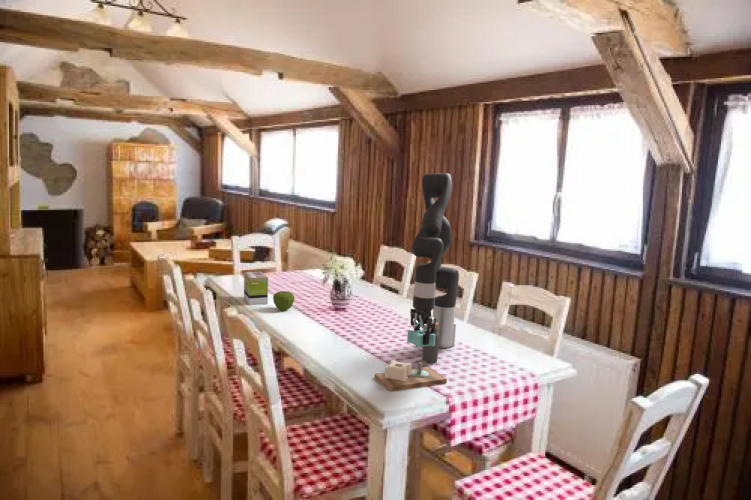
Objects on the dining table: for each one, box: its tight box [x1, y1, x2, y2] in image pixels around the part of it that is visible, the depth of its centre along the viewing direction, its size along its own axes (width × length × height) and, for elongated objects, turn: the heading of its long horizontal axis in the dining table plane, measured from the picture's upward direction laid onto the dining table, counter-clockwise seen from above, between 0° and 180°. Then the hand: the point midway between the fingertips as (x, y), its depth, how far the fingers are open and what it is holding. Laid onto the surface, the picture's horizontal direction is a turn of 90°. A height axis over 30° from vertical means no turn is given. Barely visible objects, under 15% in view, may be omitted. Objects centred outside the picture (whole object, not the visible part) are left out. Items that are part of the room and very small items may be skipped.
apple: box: [272, 290, 295, 312], centre depth 264 cm, size 11×10×10 cm
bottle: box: [421, 322, 439, 364], centre depth 203 cm, size 6×6×15 cm
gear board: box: [374, 362, 448, 392], centre depth 183 cm, size 22×12×6 cm, turn 116°
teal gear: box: [406, 328, 436, 349], centre depth 183 cm, size 8×8×4 cm
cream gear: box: [384, 359, 413, 382], centre depth 181 cm, size 8×8×4 cm
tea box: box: [243, 271, 269, 306], centre depth 278 cm, size 15×10×15 cm, turn 25°
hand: (421, 341), depth 184 cm, fingers closed on teal gear, 5 cm apart
